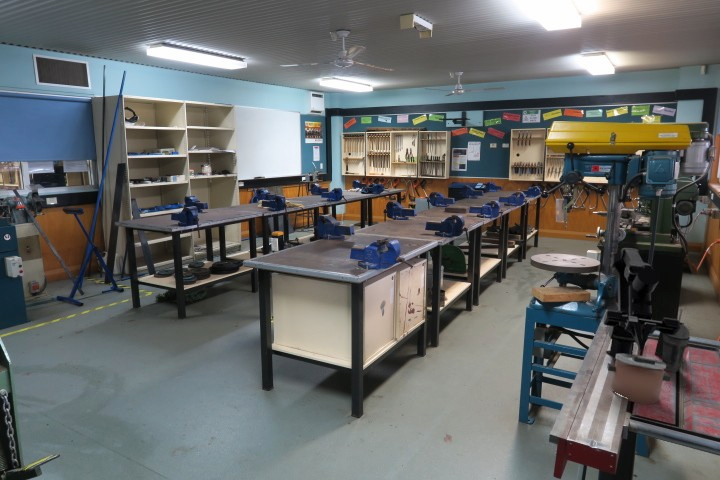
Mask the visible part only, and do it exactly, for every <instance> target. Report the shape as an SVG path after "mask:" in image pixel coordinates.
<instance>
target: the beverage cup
mask: <svg viewBox="0 0 720 480" xmlns="http://www.w3.org/2000/svg"><path fill="white" fill-rule="evenodd" d="M682 313H683V308H680V310H679V316H678V319H677V320H678V321H679V322H681V319H682ZM681 323H682V322H681ZM681 323H680V329H679V330H678V331H677V333H676V334H675V335H667V334H663V339H664V341H663V353H662V357H661V362H664V363H665V364H666V369H664V370H665V371H668V372H674V373H675V372H679V368H680V367H681V363H682V360H683V358H684V353H685V349H686V348H687V345H688V344H689V341H690V340H691V339H690V331H689V329H688V327H687V326H686V325H685V324H684V325H683V324H681Z"/></svg>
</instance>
